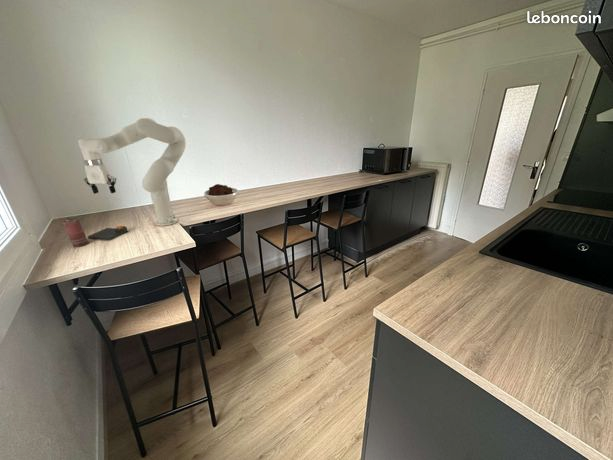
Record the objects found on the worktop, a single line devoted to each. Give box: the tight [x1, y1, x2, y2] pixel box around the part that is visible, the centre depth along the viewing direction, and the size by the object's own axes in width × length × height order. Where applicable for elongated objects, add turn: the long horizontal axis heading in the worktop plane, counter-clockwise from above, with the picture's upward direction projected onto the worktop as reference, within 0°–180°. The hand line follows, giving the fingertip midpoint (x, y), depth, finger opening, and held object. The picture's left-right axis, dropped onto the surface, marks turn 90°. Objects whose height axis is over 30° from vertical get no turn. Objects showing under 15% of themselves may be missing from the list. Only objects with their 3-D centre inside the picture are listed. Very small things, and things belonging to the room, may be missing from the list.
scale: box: [86, 225, 128, 241], centre depth 142 cm, size 15×13×3 cm
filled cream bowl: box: [203, 183, 239, 206], centre depth 192 cm, size 25×25×15 cm
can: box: [62, 217, 89, 248], centre depth 129 cm, size 6×6×14 cm
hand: (104, 192), depth 145 cm, fingers open, 9 cm apart
